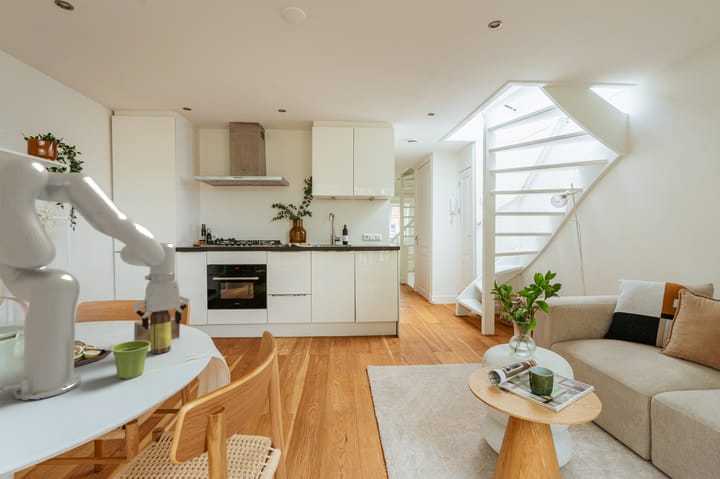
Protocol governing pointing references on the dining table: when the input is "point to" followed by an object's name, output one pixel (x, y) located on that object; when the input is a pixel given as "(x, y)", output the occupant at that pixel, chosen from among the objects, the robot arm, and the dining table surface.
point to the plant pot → (130, 358)
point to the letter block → (144, 334)
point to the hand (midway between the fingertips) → (162, 325)
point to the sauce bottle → (160, 332)
